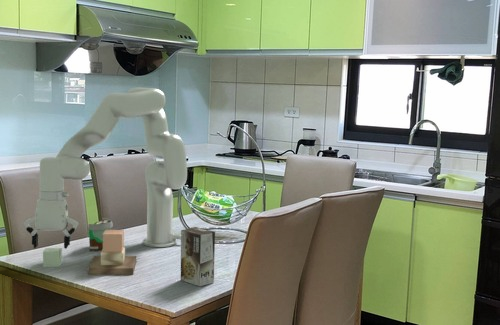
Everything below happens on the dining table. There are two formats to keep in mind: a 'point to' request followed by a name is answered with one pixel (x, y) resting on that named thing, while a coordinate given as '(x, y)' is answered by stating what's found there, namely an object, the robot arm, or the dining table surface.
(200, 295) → the dining table surface
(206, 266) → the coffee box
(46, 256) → the sage cube
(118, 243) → the terracotta cube
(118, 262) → the beech block
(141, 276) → the dining table surface
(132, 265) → the tower board
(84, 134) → the robot arm
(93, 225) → the food container
